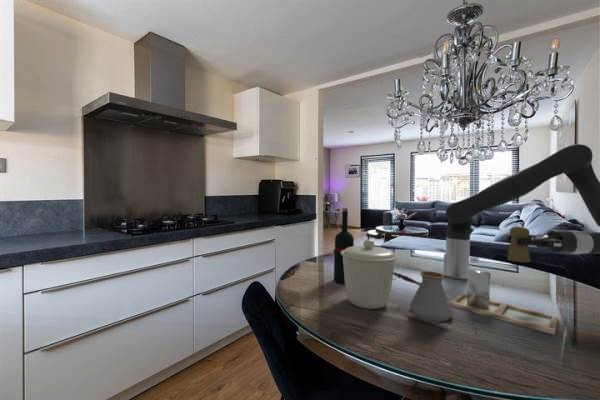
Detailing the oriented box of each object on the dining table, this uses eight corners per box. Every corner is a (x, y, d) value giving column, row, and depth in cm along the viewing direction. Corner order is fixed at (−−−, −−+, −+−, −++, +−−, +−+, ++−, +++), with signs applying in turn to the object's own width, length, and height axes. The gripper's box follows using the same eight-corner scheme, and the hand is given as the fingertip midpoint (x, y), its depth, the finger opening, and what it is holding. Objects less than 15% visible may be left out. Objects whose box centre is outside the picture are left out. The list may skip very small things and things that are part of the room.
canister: (373, 290, 104) (375, 234, 103) (408, 310, 87) (410, 243, 86) (330, 296, 97) (331, 236, 97) (359, 318, 80) (361, 245, 80)
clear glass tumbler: (464, 305, 89) (465, 271, 88) (469, 300, 93) (471, 268, 92) (486, 311, 84) (487, 275, 84) (491, 306, 88) (492, 271, 88)
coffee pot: (427, 307, 90) (429, 261, 89) (462, 322, 79) (463, 270, 79) (375, 318, 81) (377, 267, 80) (406, 337, 70) (408, 278, 70)
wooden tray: (449, 308, 89) (449, 301, 89) (461, 299, 97) (461, 292, 97) (554, 339, 71) (554, 330, 71) (557, 324, 80) (558, 316, 80)
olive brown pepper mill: (534, 262, 89) (535, 228, 89) (513, 261, 90) (514, 227, 90) (523, 258, 95) (524, 226, 95) (503, 257, 96) (504, 225, 96)
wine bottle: (344, 287, 107) (346, 209, 106) (329, 279, 116) (331, 207, 116) (360, 284, 111) (362, 209, 110) (345, 277, 120) (347, 207, 119)
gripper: (551, 227, 98) (499, 226, 100) (589, 233, 84) (528, 232, 85) (550, 249, 98) (498, 247, 100) (588, 258, 84) (527, 256, 86)
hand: (512, 240), depth 93 cm, fingers closed on olive brown pepper mill, 4 cm apart
